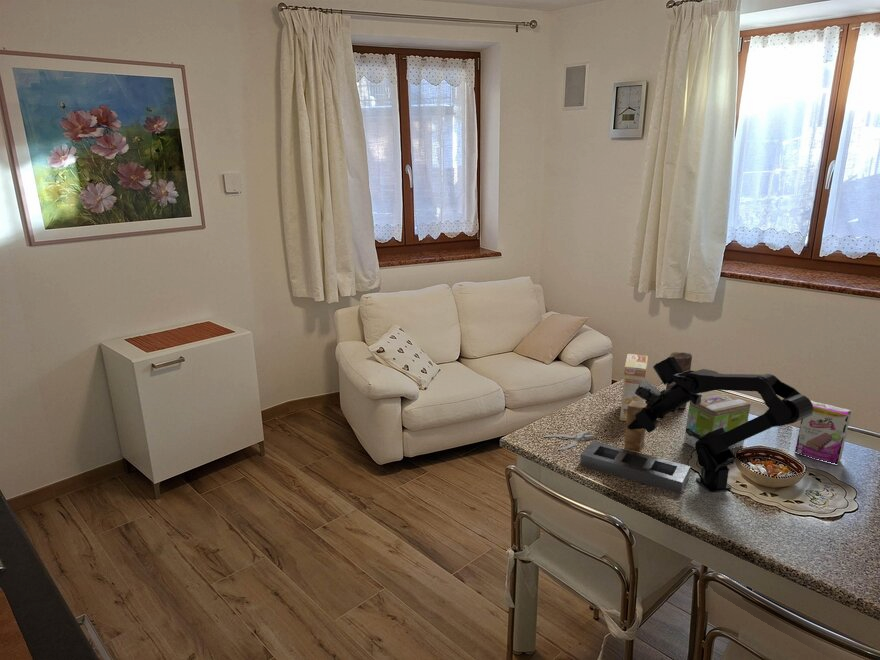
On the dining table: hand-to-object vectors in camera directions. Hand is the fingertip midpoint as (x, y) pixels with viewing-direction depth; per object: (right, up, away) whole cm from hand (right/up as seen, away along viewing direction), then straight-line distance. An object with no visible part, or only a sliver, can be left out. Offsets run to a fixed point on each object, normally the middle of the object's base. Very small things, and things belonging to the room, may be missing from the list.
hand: (631, 424), depth 175 cm
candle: (+27, +1, +35) cm, 44 cm away
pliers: (-16, -7, +11) cm, 20 cm away
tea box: (+28, -8, +8) cm, 30 cm away
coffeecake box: (+10, -1, +30) cm, 32 cm away
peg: (+1, -7, +1) cm, 7 cm away
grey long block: (-2, -12, -8) cm, 14 cm away
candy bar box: (+55, -10, -1) cm, 56 cm away
